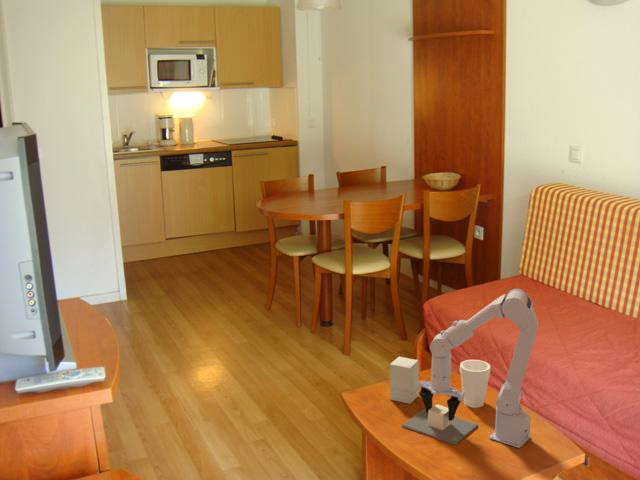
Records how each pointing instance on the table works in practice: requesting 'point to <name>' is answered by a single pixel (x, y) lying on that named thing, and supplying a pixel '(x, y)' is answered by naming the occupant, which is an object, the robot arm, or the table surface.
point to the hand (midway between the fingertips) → (440, 415)
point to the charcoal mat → (449, 434)
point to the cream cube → (438, 417)
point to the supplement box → (404, 380)
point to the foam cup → (474, 382)
